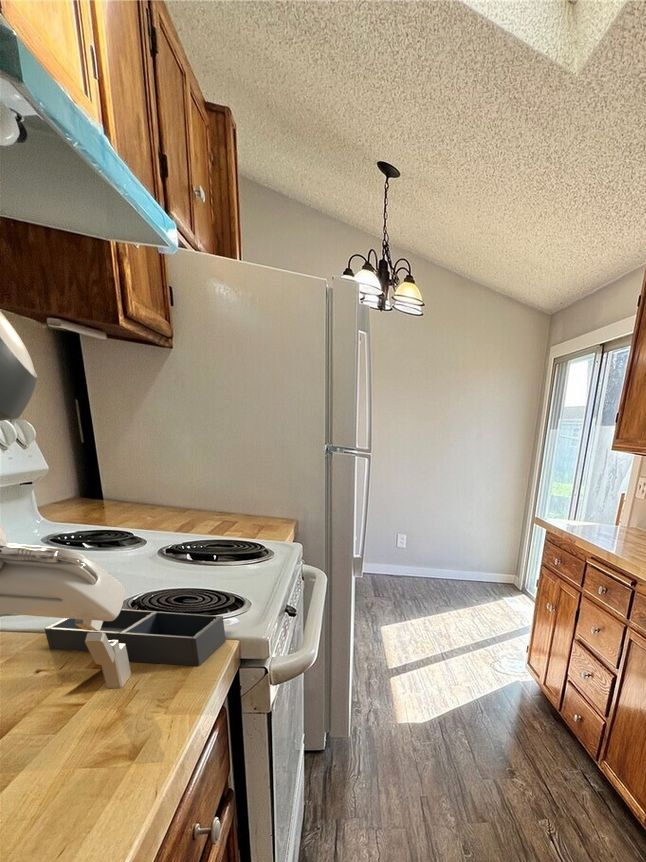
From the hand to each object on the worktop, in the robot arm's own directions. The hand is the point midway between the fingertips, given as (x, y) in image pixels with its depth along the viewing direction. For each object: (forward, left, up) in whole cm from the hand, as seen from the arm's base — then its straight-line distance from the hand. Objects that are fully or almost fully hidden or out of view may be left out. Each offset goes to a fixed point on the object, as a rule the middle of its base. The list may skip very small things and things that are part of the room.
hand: (44, 620), depth 56 cm
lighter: (0, +9, -12) cm, 15 cm away
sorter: (-2, +21, -12) cm, 24 cm away
